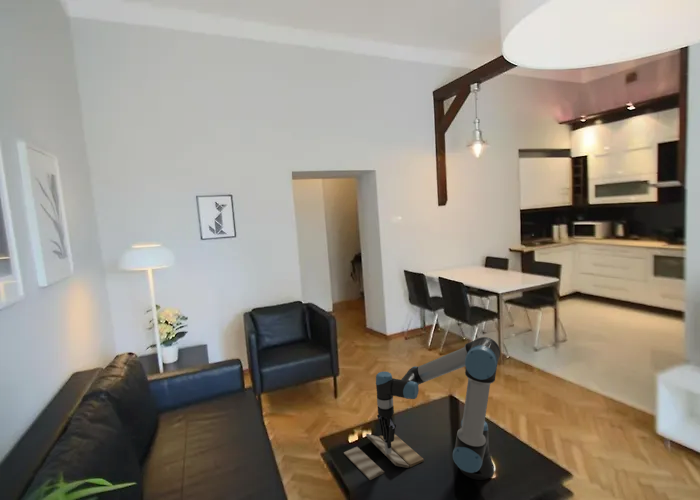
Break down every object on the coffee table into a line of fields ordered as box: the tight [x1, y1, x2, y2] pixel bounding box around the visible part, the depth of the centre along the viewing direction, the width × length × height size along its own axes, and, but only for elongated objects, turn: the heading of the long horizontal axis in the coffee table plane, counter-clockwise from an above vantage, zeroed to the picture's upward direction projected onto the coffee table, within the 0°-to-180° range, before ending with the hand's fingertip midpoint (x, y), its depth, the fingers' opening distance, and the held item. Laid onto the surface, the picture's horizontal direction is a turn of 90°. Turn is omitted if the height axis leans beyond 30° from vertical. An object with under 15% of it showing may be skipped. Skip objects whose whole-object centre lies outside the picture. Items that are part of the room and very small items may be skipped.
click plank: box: [365, 433, 410, 469], centre depth 186 cm, size 28×8×1 cm, turn 27°
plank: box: [343, 446, 385, 481], centre depth 182 cm, size 24×8×1 cm, turn 31°
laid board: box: [378, 433, 425, 468], centre depth 190 cm, size 28×8×1 cm, turn 27°
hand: (388, 452), depth 177 cm, fingers closed
